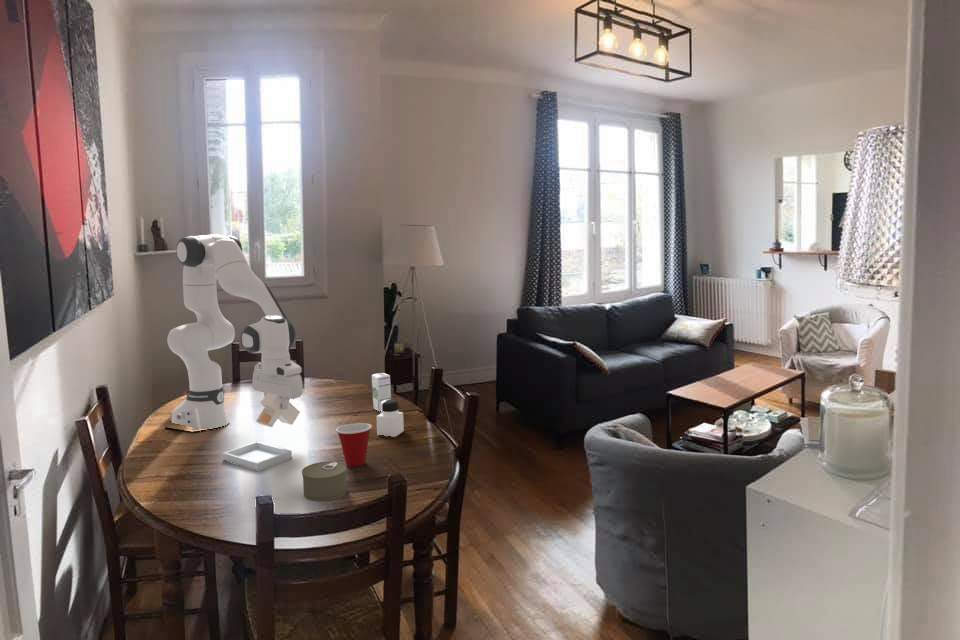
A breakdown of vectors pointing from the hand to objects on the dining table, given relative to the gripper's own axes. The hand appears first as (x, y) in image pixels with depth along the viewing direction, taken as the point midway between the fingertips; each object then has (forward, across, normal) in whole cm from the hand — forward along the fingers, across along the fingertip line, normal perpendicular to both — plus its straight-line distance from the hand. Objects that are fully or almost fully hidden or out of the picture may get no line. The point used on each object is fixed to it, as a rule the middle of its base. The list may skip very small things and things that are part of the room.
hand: (277, 407), depth 209 cm
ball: (+2, +1, -6) cm, 6 cm away
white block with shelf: (+6, 0, +4) cm, 7 cm away
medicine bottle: (+14, +20, +33) cm, 41 cm away
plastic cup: (+14, +30, +5) cm, 33 cm away
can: (+14, +38, -16) cm, 43 cm away
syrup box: (+14, -2, +54) cm, 56 cm away
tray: (+15, 0, -9) cm, 17 cm away
